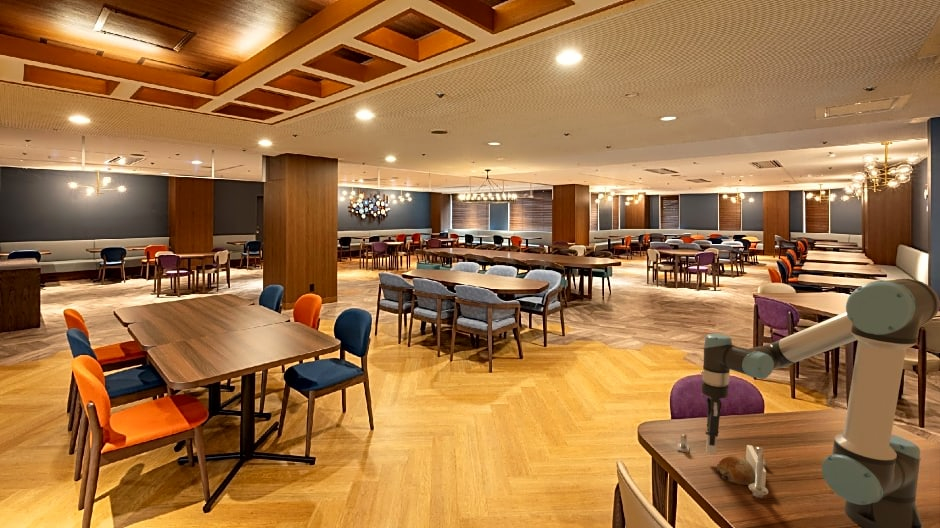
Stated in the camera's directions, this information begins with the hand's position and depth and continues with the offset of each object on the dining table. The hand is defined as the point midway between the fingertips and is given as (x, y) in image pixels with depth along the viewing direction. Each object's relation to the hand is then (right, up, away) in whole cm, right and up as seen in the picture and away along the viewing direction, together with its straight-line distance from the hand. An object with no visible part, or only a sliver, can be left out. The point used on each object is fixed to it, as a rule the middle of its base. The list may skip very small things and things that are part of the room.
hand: (710, 452), depth 151 cm
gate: (+10, -3, -8) cm, 13 cm away
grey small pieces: (+5, -3, +4) cm, 7 cm away
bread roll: (+3, -4, -8) cm, 10 cm away
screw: (+4, -5, -18) cm, 19 cm away
